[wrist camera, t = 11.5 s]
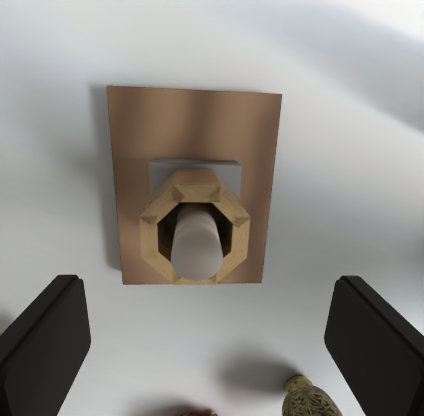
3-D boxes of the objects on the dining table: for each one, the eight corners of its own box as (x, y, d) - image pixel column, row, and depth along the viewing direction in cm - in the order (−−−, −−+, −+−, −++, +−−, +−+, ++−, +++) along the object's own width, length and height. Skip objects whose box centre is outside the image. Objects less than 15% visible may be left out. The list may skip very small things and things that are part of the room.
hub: (237, 169, 20) (253, 185, 14) (232, 245, 22) (244, 284, 16) (152, 167, 19) (137, 183, 14) (154, 245, 21) (142, 285, 16)
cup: (285, 411, 36) (310, 488, 28) (259, 380, 34) (279, 455, 26) (333, 386, 35) (372, 458, 27) (309, 353, 33) (344, 421, 25)
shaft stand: (274, 96, 23) (370, 64, 11) (256, 272, 28) (305, 385, 16) (114, 89, 22) (12, 42, 10) (127, 273, 27) (74, 395, 15)
